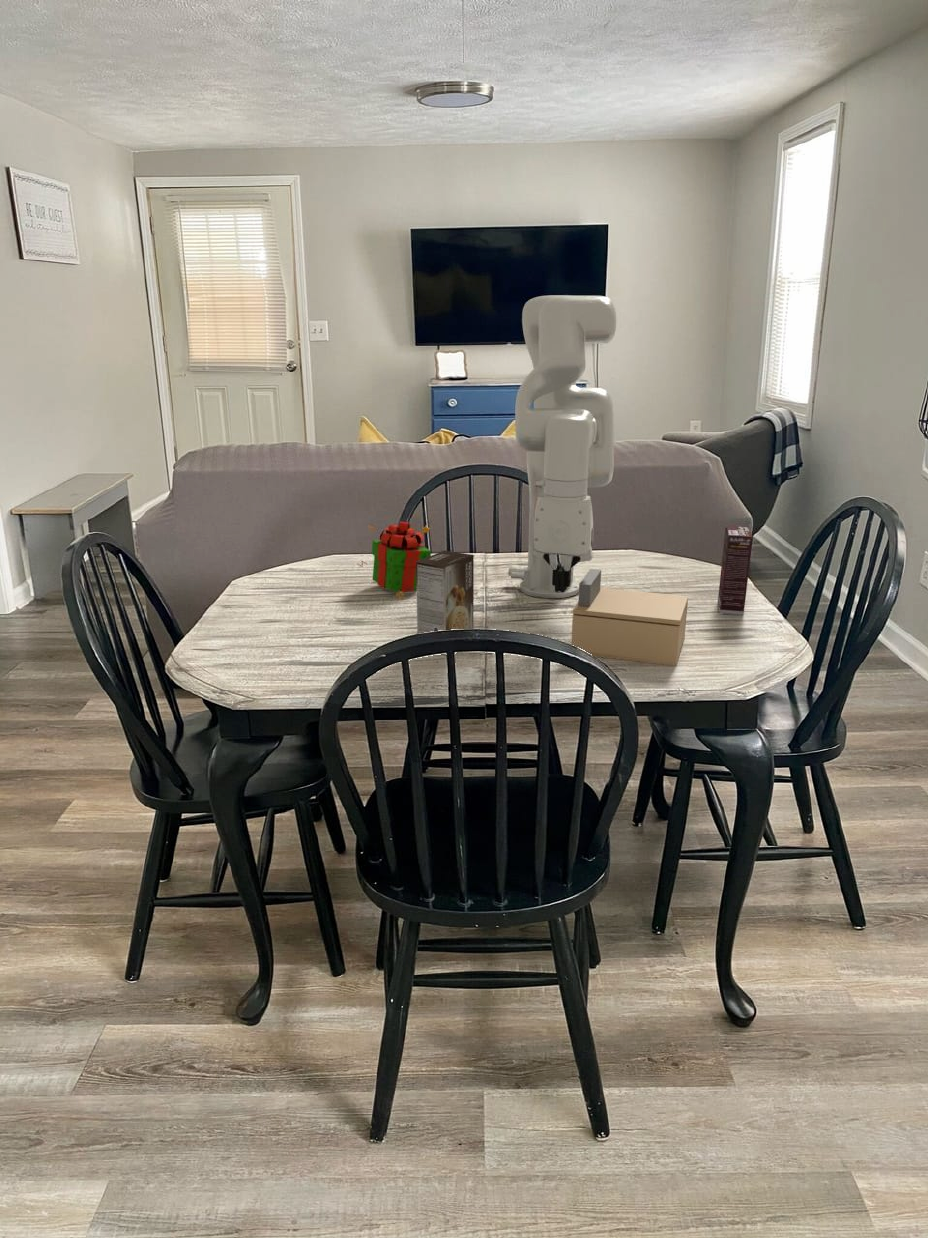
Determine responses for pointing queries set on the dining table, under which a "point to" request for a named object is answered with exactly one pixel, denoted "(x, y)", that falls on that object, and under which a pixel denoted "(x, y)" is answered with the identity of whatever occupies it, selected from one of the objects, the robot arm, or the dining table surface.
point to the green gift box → (398, 557)
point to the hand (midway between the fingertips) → (561, 589)
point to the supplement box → (734, 570)
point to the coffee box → (445, 592)
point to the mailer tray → (629, 638)
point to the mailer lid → (627, 602)
